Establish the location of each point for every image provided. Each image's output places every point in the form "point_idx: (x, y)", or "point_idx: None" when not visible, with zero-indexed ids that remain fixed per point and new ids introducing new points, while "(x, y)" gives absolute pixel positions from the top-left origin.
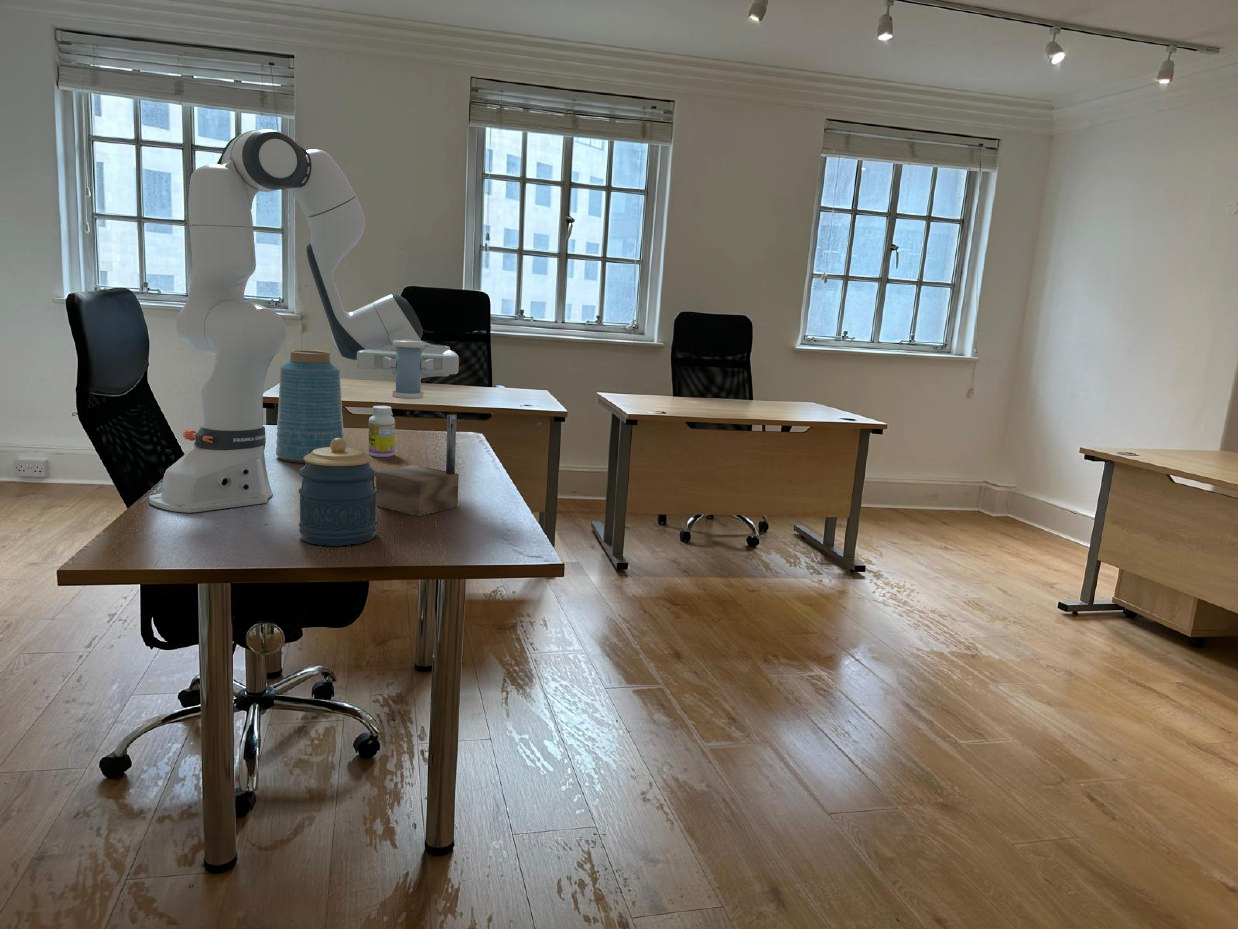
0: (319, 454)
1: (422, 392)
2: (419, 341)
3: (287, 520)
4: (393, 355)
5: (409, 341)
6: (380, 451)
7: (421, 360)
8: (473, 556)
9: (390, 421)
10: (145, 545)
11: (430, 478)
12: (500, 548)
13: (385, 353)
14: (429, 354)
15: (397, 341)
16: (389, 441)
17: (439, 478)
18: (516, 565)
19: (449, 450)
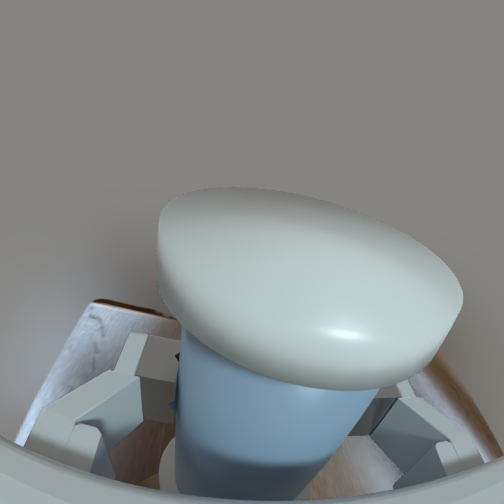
0: None
1: (164, 468)
2: (203, 258)
3: (372, 469)
4: (436, 479)
5: (317, 235)
6: None
7: (176, 359)
8: (150, 332)
9: None
10: (439, 387)
11: (156, 480)
12: (114, 342)
13: (493, 462)
14: (30, 483)
15: (381, 223)
16: None
17: (135, 484)
18: (122, 307)
19: None
